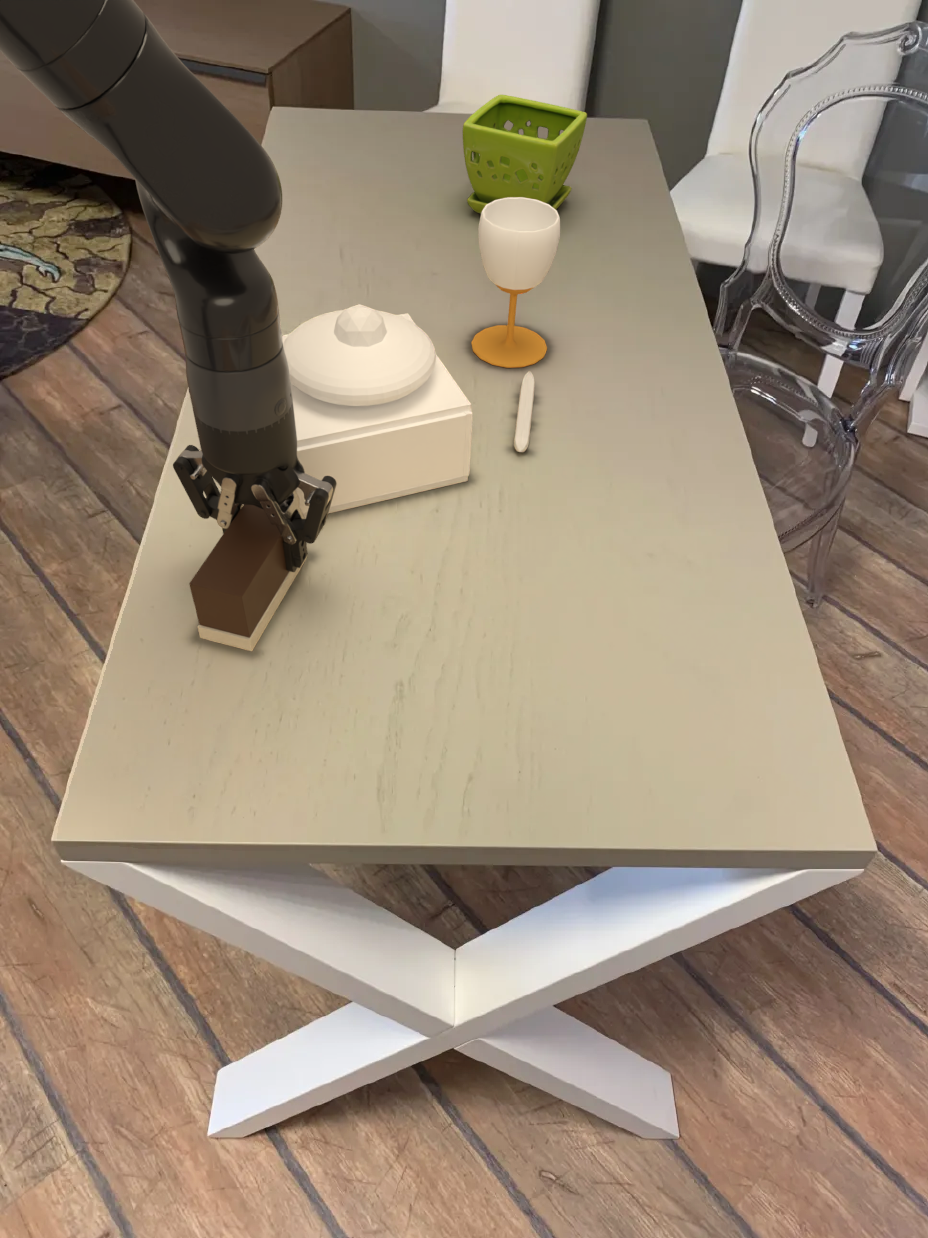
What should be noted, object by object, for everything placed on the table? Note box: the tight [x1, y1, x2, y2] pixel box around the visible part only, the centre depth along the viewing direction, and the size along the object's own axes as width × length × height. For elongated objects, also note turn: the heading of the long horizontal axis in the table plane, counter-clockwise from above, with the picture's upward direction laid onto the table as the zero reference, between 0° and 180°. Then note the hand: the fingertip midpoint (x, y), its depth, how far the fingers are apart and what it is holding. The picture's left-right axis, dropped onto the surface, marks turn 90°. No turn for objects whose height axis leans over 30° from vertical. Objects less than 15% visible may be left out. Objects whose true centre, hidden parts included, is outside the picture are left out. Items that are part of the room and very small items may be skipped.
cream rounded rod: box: [513, 370, 536, 453], centre depth 103 cm, size 2×14×2 cm, turn 174°
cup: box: [470, 197, 561, 369], centre depth 106 cm, size 9×9×16 cm
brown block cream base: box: [188, 505, 308, 652], centre depth 81 cm, size 12×5×6 cm, turn 164°
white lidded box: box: [282, 303, 474, 519], centre depth 93 cm, size 18×18×16 cm
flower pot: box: [462, 94, 588, 215], centre depth 133 cm, size 14×14×13 cm
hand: (267, 558), depth 84 cm, fingers closed on brown block cream base, 4 cm apart
